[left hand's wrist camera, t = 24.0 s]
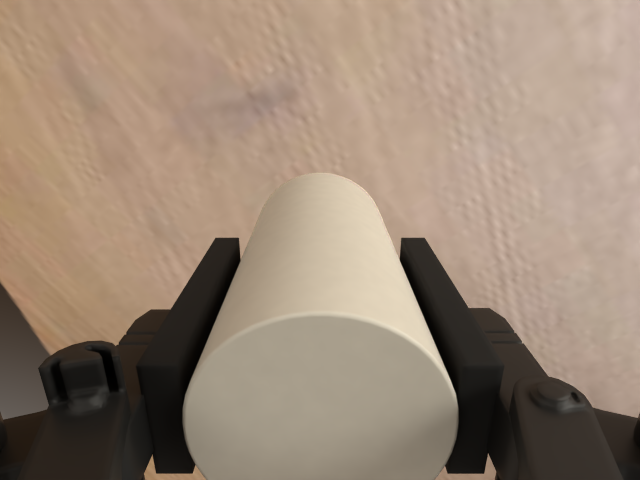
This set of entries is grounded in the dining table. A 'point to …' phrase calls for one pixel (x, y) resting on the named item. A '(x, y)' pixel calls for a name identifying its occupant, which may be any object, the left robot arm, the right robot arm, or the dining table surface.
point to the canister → (320, 353)
